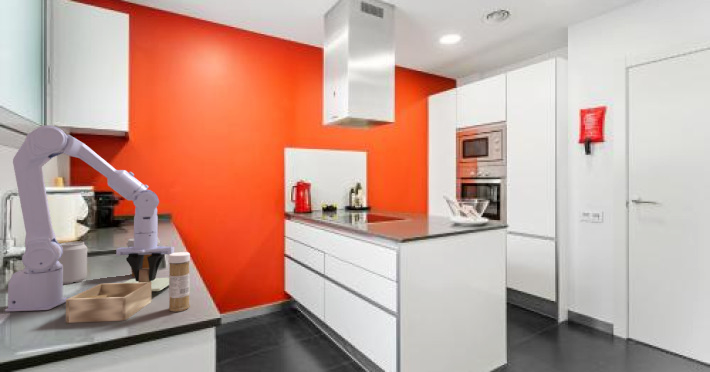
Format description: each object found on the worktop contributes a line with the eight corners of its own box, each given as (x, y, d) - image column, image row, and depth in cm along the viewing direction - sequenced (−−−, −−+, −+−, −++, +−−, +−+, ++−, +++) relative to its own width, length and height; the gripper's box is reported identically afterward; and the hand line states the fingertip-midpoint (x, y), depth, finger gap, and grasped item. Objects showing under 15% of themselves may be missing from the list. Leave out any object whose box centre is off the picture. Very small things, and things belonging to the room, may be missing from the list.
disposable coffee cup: (141, 270, 117) (141, 236, 117) (166, 271, 116) (166, 237, 116) (118, 277, 108) (119, 240, 108) (145, 279, 107) (145, 241, 107)
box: (65, 322, 73) (65, 299, 73) (100, 303, 85) (100, 283, 85) (125, 320, 74) (125, 297, 74) (151, 301, 86) (151, 282, 86)
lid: (105, 292, 87) (106, 274, 88) (131, 280, 100) (131, 265, 100) (159, 290, 89) (160, 273, 90) (177, 279, 102) (178, 264, 102)
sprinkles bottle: (186, 304, 85) (186, 250, 85) (192, 309, 81) (192, 253, 81) (165, 308, 81) (166, 253, 81) (171, 313, 78) (172, 256, 78)
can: (68, 285, 99) (68, 245, 99) (48, 284, 101) (48, 244, 101) (93, 278, 107) (93, 241, 107) (74, 277, 108) (74, 240, 108)
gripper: (109, 234, 90) (109, 285, 90) (166, 233, 92) (166, 283, 92) (124, 231, 97) (124, 277, 97) (177, 230, 99) (177, 276, 99)
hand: (145, 280), depth 95 cm, fingers closed on lid, 3 cm apart
